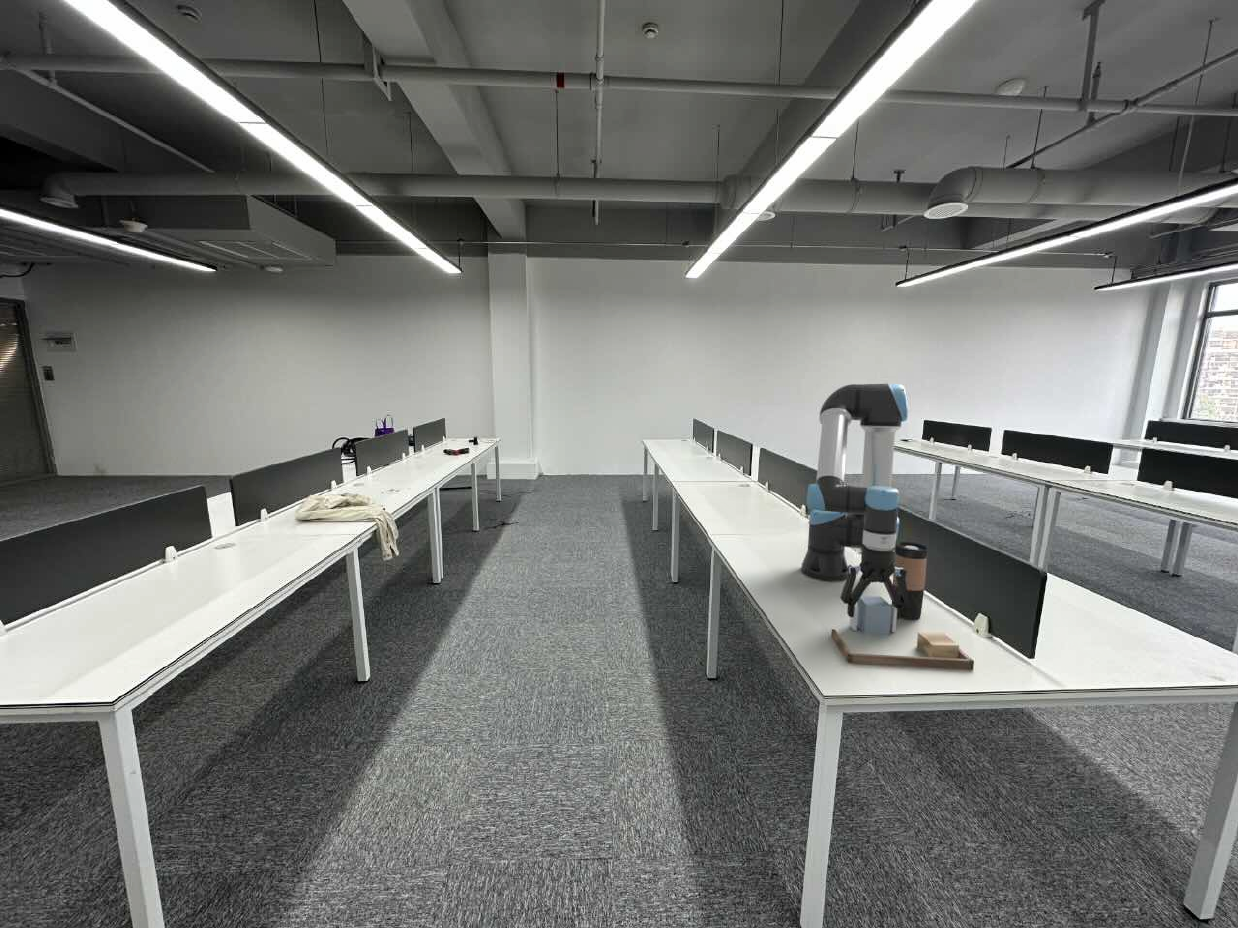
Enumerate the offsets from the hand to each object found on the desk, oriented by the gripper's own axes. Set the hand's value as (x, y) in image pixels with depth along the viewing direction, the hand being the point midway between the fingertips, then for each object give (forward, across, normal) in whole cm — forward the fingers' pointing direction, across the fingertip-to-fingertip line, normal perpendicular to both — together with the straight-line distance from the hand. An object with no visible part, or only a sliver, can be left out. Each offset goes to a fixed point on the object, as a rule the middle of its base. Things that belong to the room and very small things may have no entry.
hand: (872, 628), depth 128 cm
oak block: (0, +10, -11) cm, 15 cm away
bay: (0, +2, -11) cm, 11 cm away
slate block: (0, 0, 0) cm, 0 cm away
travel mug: (0, +13, +10) cm, 16 cm away
